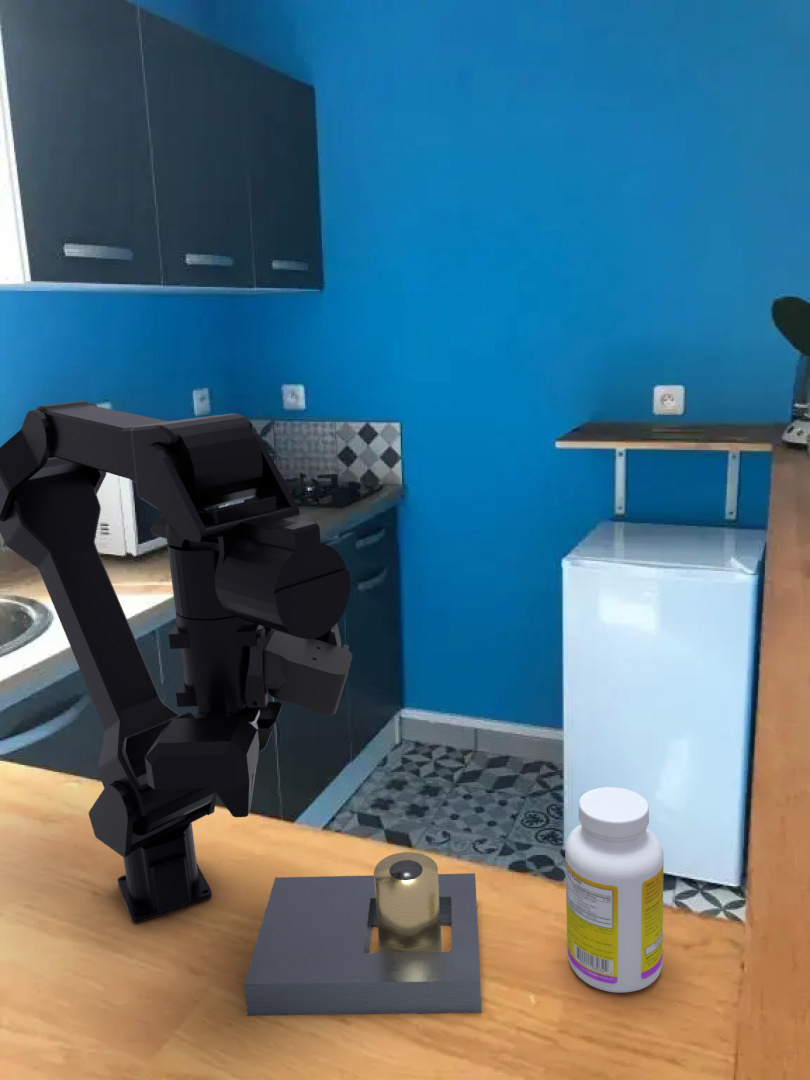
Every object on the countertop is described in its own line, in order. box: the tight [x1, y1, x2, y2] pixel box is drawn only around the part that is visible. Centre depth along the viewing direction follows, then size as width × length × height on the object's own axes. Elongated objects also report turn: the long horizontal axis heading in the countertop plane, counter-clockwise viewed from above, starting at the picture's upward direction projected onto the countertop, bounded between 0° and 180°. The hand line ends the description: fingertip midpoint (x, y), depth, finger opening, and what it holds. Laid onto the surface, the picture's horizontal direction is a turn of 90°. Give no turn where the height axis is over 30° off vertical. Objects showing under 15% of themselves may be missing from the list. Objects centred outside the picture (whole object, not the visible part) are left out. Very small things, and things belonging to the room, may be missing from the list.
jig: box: [243, 872, 483, 1016], centre depth 69 cm, size 16×12×2 cm
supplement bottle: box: [564, 786, 664, 994], centre depth 65 cm, size 7×7×13 cm
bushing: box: [373, 851, 443, 953], centre depth 68 cm, size 5×5×7 cm
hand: (241, 814), depth 66 cm, fingers closed
